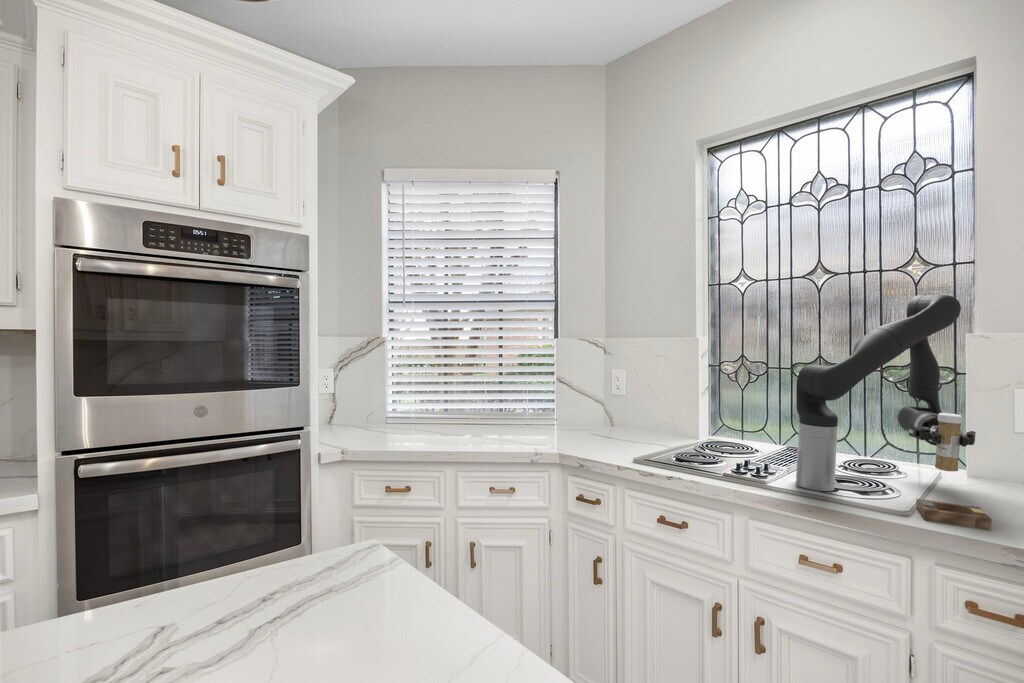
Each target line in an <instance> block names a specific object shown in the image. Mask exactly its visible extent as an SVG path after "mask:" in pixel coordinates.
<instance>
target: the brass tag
mask: <svg viewBox="0 0 1024 683" xmlns="http://www.w3.org/2000/svg"><path fill="white" fill-rule="evenodd" d="M970 510H971V511H972V512H973V513H977V514H984V515H985V513H986V512H985V511H984V510H983V509H981V508H980V509H975V508H970ZM982 510H983V511H984V512H985V513H984V512H983V511H982Z"/></svg>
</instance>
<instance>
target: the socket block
mask: <svg viewBox="0 0 1024 683" xmlns="http://www.w3.org/2000/svg"><path fill="white" fill-rule="evenodd" d="M921 501H926V502H932V503H933V505H934V506H935V507H928V506H924V505H923V504H922V503H921ZM915 502H916V504H915V505H916V507H915V510H916V511H917V512H918V513H919V515H920V516H921V518H922V520H924V521H927V522H928V521H929V522H935V523H942V524H948V525H953V526H962V527H968V528H974V529H981V530H988V531H991V530H992V518H991V517H990V516H989V515H988V514H987V513H986V512H985V511H984V510H983V509H981V507H978V506H973V505H965V504H958V503H950V502H944V501H936V500H930V499H922V498H916V501H915ZM970 508H975V509H981V510H982V511H983V512H984V513H985V515H984V514H977V513H973V512H972V511H971V510H970Z"/></svg>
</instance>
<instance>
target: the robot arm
mask: <svg viewBox="0 0 1024 683" xmlns="http://www.w3.org/2000/svg"><path fill="white" fill-rule="evenodd" d="M906 306H907V307H906V317H905V318H903V319H899V320H894V321H892V322H891V321H890V322H888V323H886V324H883V325H880V326H878V327H876V328H874V329H872V330H870V331H869V332H868V333H866V334H865V335H863V336H862V337H860V338H859V339H858V341H856V342H855V344H854V347H853V350H852V353H851V355H850V356H848V357H847V358H846V359H843V360H842V361H840V362H838V363H836V364H834V365H822V364H807V365H805V366H804V367H802V368H801V369H800V371H799V372H798V375H797V378H796V384H795V386H796V387H795V388H796V390H795V391H796V394H795V395H796V398H795V400H796V402H795V404H796V412H797V415H798V438H797V440H798V441H797V453H796V454H797V455H796V468H795V469H796V470H795V471H796V473H795V487H800V488H803V489H806V490H810V491H819V492H832V491H834V490H835V483H836V478H835V477H836V463H837V462H836V460H837V446H838V444H837V443H838V430H839V429H838V427H839V426H838V424H839V423H838V422H839V418H838V415H837V414H836V413H835V412H833V411H832V410H831V409H830V408H829V407H828V405H827V402H829V401H836V400H838V399H840V398H842V397H843V396H845V395H846V394H847V393H848V392H849V391H851V390H852V389H853V388H855V386H856V385H858V383H860V382H861V381H863V380H864V379H865V378H866V377H868V376H869V375H871V374H872V373H874V372H875V371H877V370H878V369H880V368H882V367H883V366H884V365H886V364H888V363H889V362H891V361H892V360H894V359H895V358H897V357H899V356H900V355H901V354H903V353H904V352H906V351H907V350H909V358H910V359H909V360H910V361H909V364H910V365H909V366H910V368H909V377H908V378H909V379H908V389H907V393H908V396H909V397H911V398H913V399H916V400H921V401H924V402H925V403H926V404H927V407H923V406H922V407H921V406H911V405H910V406H909V405H908V406H904V407H902V408H901V409H900V410H899V411H898V414H897V422H898V425H899V426H900V428H902V429H903V430H905V431H907V432H908V436H909V437H912V438H915V439H918V440H921V441H925V442H926V443H927V444H929V445H932V446H935V447H937V444H940V442H941V435H940V434H939V433H938V424H939V423H938V414H939V413H943V412H942V410H941V406H940V405H941V404H940V398H939V390H940V380H941V372H940V371H941V370H940V366H939V364H938V360H937V359H936V356H935V355H934V353H933V350H932V349H931V345H930V342H929V338H928V337H930V336H932V335H934V334H936V333H938V332H940V331H942V330H944V329H946V328H948V327H950V326H951V325H953V324H954V323H955V322H957V320H958V318H959V317H960V314H961V310H962V306H961V303H960V301H959V300H958V299H957V298H956V297H955V296H952V295H948V294H918V295H915V296H913V297H911V298H910V300H909V302H908V304H907V305H906ZM976 434H977V433H976V431H973V430H971V431H966V433H963V432H962V430H960V447H967V446H974V445H975V443H976Z"/></svg>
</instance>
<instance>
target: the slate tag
mask: <svg viewBox="0 0 1024 683" xmlns="http://www.w3.org/2000/svg"><path fill="white" fill-rule="evenodd" d="M921 503H922V504H923V505H924V506H928V507H935V506H934V505H933V503H932V502H926V501H921Z"/></svg>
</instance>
